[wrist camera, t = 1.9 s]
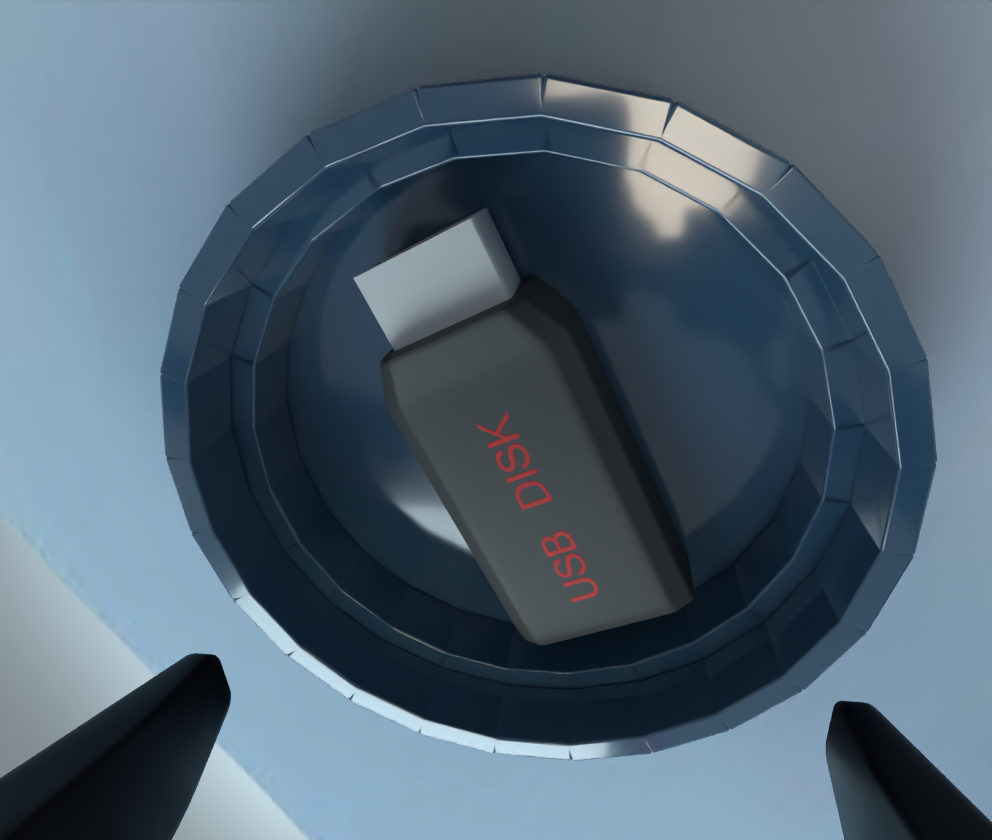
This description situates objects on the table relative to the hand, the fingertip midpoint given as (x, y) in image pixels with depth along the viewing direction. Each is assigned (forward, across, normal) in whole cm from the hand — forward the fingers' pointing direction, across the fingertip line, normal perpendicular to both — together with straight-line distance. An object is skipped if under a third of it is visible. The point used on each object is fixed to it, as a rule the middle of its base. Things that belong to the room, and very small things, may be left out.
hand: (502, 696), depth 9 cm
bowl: (+10, +1, 0) cm, 10 cm away
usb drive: (+10, +1, 0) cm, 10 cm away
